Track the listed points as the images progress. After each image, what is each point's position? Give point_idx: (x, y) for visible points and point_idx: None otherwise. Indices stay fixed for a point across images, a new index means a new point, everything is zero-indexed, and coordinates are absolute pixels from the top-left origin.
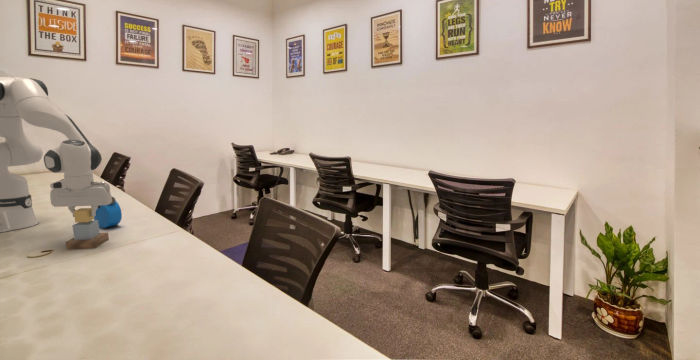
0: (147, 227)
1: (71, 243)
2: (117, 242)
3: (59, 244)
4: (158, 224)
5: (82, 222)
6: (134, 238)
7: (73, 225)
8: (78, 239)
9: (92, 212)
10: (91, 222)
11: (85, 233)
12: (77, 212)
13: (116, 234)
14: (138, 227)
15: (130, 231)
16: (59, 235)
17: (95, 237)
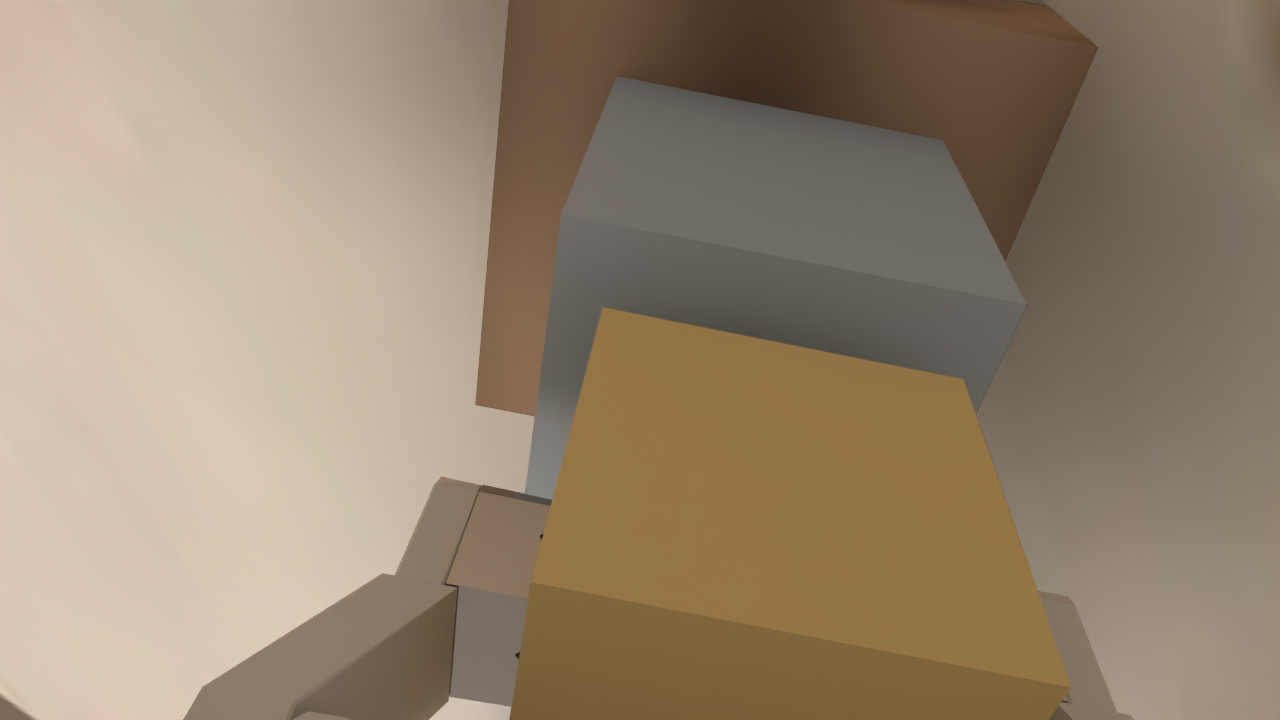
0: (199, 639)
1: (976, 19)
2: (287, 130)
3: (1204, 341)
4: (121, 695)
5: None
6: (110, 249)
7: (995, 296)
8: (866, 128)
9: (408, 574)
10: None
11: (710, 146)
12: (906, 609)
13: None
14: None
15: (345, 565)
16: (1239, 701)
17: None
